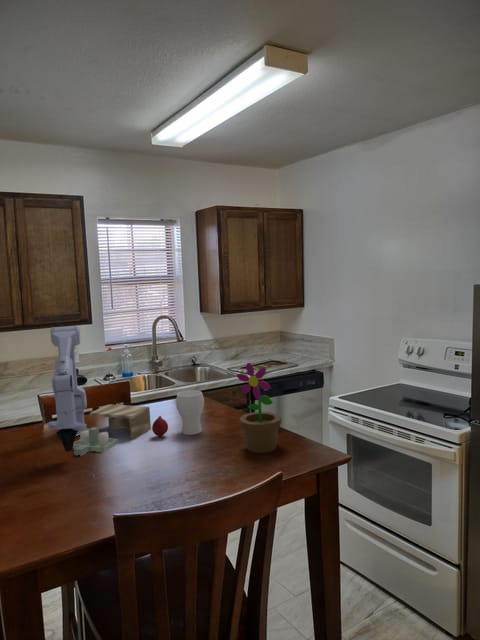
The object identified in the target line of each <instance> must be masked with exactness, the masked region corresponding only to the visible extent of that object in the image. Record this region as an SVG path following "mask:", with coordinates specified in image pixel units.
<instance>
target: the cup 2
mask: <svg viewBox="0 0 480 640" xmlns="http://www.w3.org/2000/svg"><path fill="white" fill-rule="evenodd" d="M204 399H205V398H204V395H203V392H202V391H201V390H193V389H192V390H185V391H184V390H183V391H179V392H178V393H177V394H176V400H175V404H176V405H175V408H176V409H177V412H178V414H179V416H180V417H181V424H182V426H181V434H183V435H185V436H187V435H188V436H193V435H198V434H200V433H201V432H203V429H202V424H201V416H202V413H203V411H204V407H205V400H204Z"/></svg>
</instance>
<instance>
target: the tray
mask: <svg viewBox="0 0 480 640" xmlns="http://www.w3.org/2000/svg"><path fill="white" fill-rule="evenodd" d="M88 429H89V443H90V444H88V445H84V444H83V445H81V444H80V439H78V440H76V441H74V444H73V448H74V449H73V451H74V456H78V455H80V456H79V457H82V456H84V455H86V454H88V453H90V452H93V451H96V452H95V453H102V452H103V453H105V452H107V451H108V450H110V449H112V448H114V447H115V446H116V445H118V444H119V438H113V437H112V438H111V437H108V438H109V444H107V445H105V446H103V447H99V438H98V434H99V433H100V427H94V426H93V427H91V428H88ZM89 451H90V452H89ZM87 452H88V453H87Z"/></svg>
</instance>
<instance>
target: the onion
mask: <svg viewBox="0 0 480 640" xmlns="http://www.w3.org/2000/svg"><path fill="white" fill-rule="evenodd" d="M168 430H169V425H168V422H167V421H166V420H165V419H164V418H163V417H162V415H158V417H157V418H156V419H155V420H154V422H153V423H152V425H151V431H152V432H153V434H155V436H157V437H159V438H162V437H163V436H164V435H165V434H167V432H168Z"/></svg>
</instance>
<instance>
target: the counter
mask: <svg viewBox="0 0 480 640" xmlns="http://www.w3.org/2000/svg"><path fill="white" fill-rule="evenodd" d="M89 416H90V417H103V418H104V417H105V418H108V427H110V428H117V429H118V428H120V429H121V428H122V429H129V430H130V440H134V441H135V440H137V438H139V437H141V436H143V435H144V434H145V433H147V432H149V431H150V430H152V424H151V423H152V422H151V410H150V406H140V405H126V404H125V405H123V404H107V405H105V406H103V407H100V408H98V409H95V410H93V411H91V412H89Z"/></svg>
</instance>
